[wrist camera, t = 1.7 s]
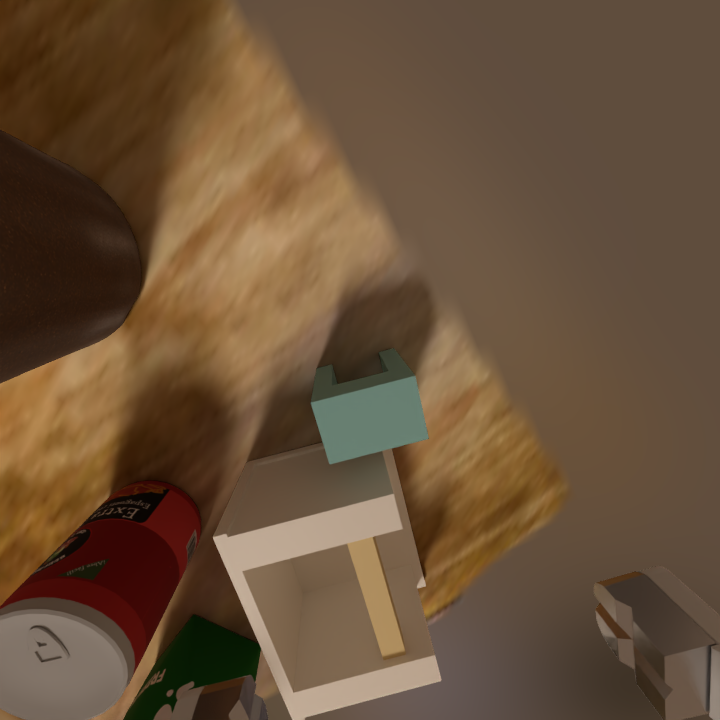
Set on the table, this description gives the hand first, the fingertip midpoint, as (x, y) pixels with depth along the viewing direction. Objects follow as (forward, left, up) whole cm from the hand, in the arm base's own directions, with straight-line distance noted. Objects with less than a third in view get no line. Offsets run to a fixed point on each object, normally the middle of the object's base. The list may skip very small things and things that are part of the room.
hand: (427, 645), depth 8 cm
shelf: (+12, -5, -19) cm, 23 cm away
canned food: (+7, -19, -19) cm, 28 cm away
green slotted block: (0, 0, -19) cm, 19 cm away
